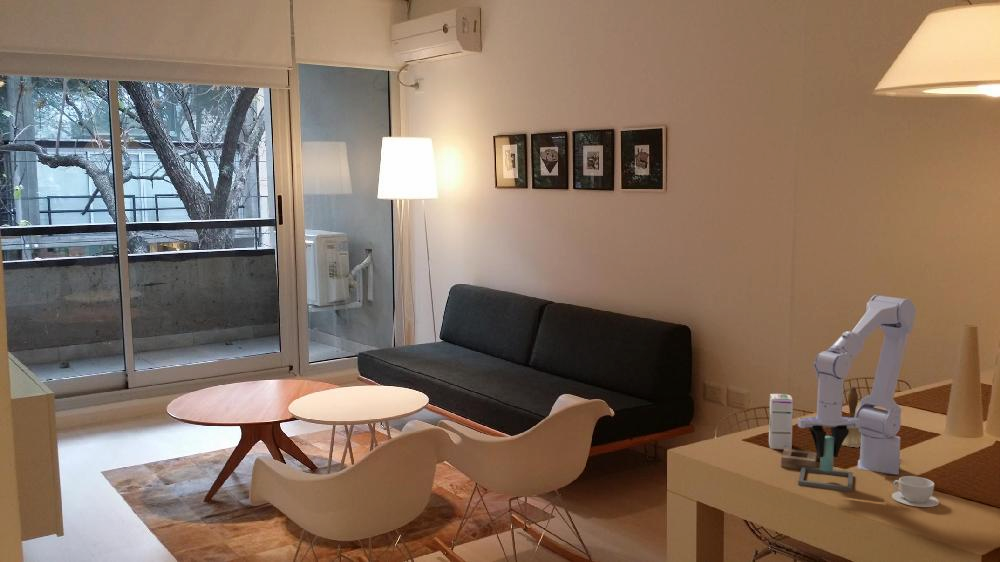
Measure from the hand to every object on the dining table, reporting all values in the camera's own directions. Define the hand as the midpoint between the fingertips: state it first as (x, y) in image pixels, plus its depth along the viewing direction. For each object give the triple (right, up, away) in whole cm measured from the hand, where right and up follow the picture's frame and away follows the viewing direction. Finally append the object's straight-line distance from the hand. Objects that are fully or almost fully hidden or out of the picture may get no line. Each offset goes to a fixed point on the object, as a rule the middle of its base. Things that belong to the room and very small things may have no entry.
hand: (827, 456), depth 215 cm
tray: (0, -7, +1) cm, 7 cm away
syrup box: (-3, -3, +28) cm, 28 cm away
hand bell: (+19, -3, +32) cm, 37 cm away
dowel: (0, -3, +1) cm, 3 cm away
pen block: (-3, -5, +13) cm, 14 cm away
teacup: (+16, -9, -11) cm, 21 cm away
